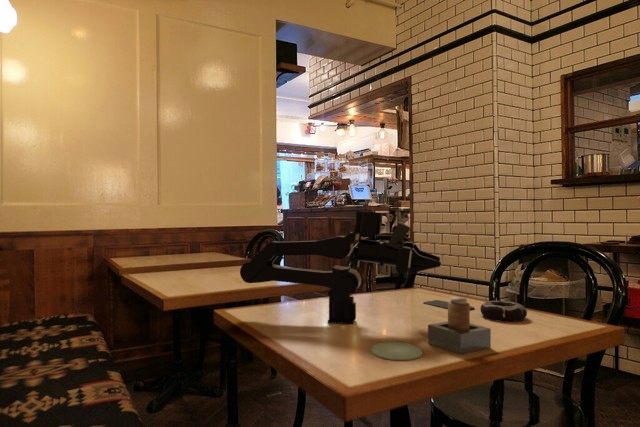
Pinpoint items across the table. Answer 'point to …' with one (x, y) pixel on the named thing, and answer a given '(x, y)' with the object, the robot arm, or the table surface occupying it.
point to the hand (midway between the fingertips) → (440, 261)
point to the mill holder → (459, 338)
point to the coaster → (396, 351)
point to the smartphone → (440, 304)
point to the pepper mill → (459, 314)
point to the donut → (503, 311)
